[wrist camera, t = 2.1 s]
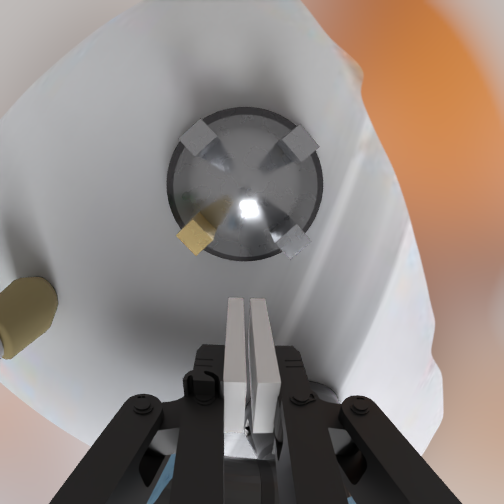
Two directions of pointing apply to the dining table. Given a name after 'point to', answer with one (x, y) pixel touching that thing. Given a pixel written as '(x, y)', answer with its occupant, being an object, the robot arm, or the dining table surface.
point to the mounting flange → (225, 114)
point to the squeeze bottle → (25, 313)
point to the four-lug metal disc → (245, 186)
